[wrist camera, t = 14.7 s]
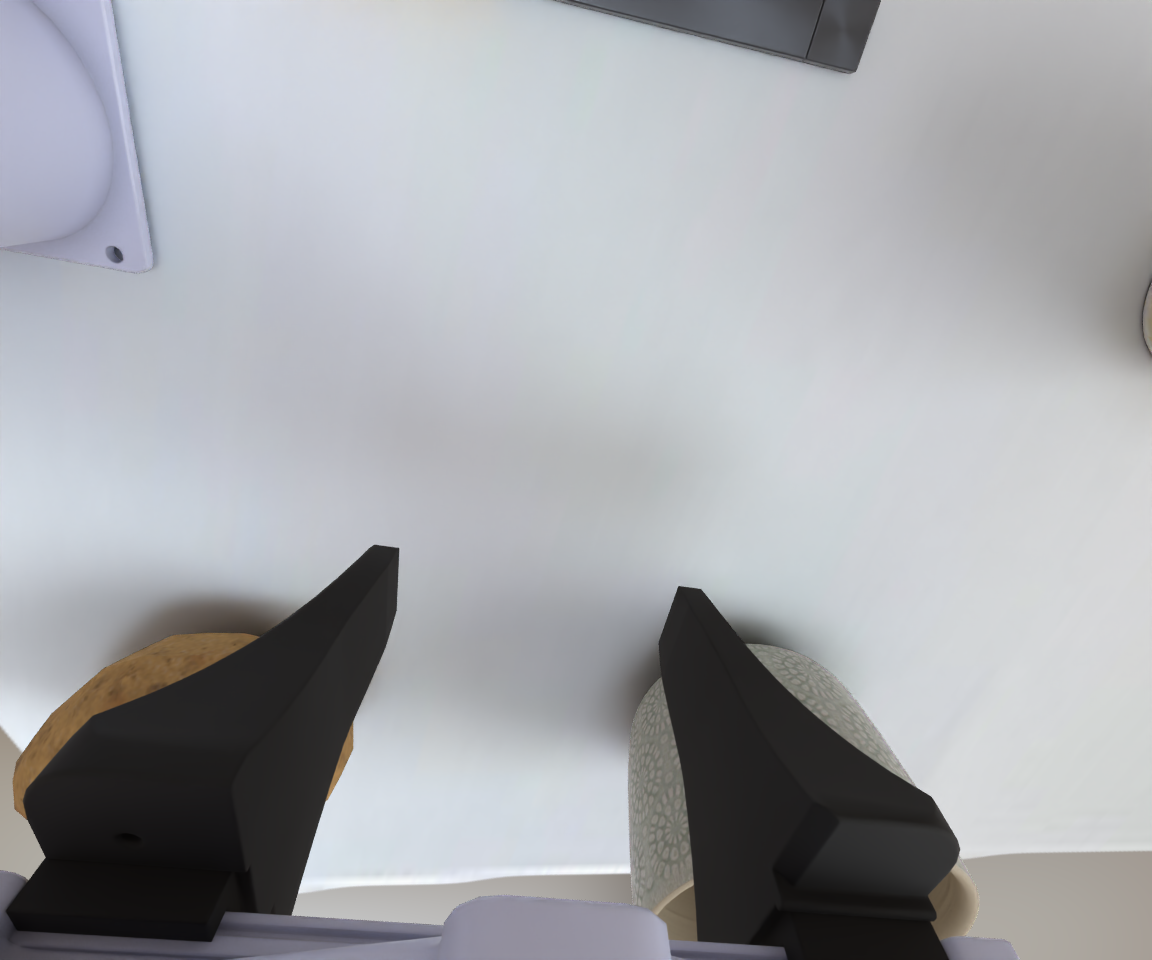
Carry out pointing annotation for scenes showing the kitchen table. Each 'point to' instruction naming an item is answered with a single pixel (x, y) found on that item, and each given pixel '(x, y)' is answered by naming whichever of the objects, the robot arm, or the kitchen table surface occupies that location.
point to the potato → (132, 696)
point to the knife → (762, 24)
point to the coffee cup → (1148, 319)
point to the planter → (663, 810)
